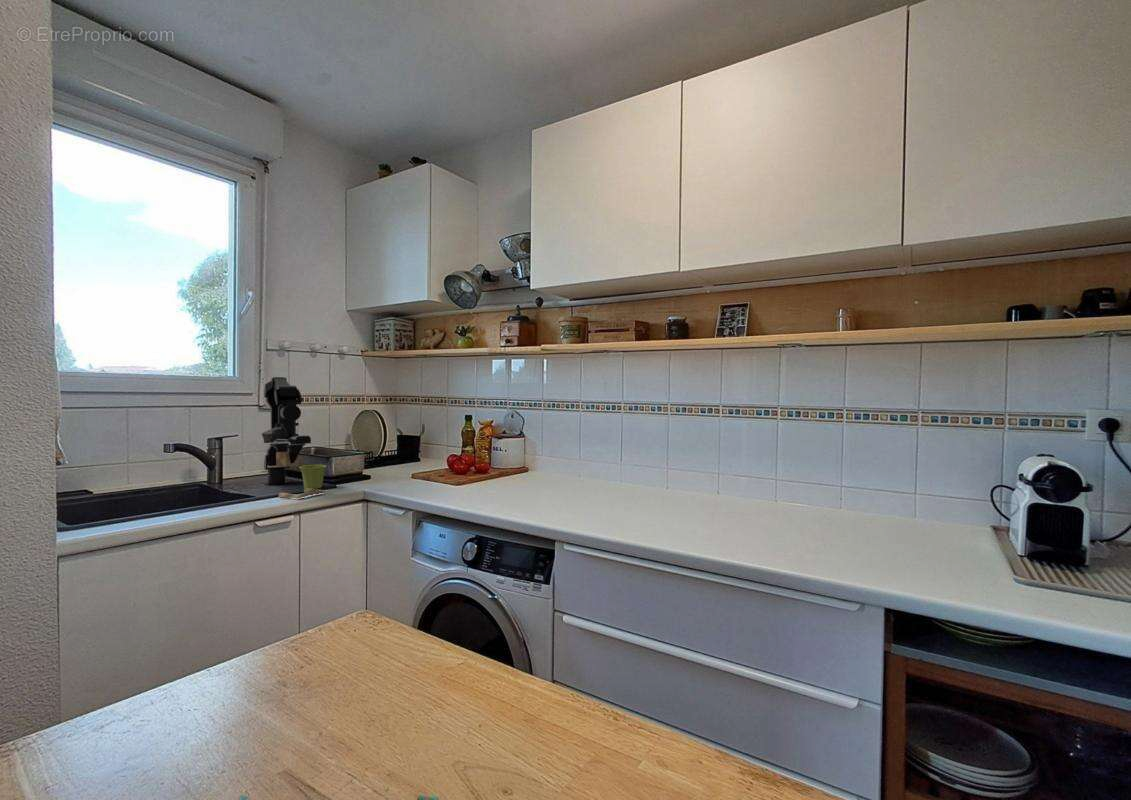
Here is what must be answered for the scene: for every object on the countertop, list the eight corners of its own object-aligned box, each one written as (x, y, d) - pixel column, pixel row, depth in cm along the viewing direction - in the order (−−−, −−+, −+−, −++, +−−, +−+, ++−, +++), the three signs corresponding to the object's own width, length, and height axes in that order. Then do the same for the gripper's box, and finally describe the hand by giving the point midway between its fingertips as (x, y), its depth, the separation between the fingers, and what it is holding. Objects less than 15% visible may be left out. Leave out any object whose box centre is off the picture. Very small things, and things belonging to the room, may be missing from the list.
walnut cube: (276, 466, 186) (276, 452, 186) (289, 464, 190) (289, 451, 190) (285, 467, 184) (285, 453, 184) (298, 465, 188) (297, 451, 188)
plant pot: (300, 487, 201) (300, 465, 200) (326, 485, 204) (326, 463, 204) (298, 491, 192) (298, 468, 192) (326, 489, 196) (326, 467, 196)
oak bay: (278, 497, 181) (278, 493, 181) (306, 491, 191) (306, 487, 191) (297, 500, 177) (297, 495, 177) (324, 494, 187) (324, 490, 187)
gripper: (249, 420, 184) (249, 464, 184) (283, 421, 176) (283, 467, 176) (278, 419, 194) (278, 460, 194) (311, 420, 186) (312, 463, 186)
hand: (287, 462), depth 187 cm, fingers closed on walnut cube, 5 cm apart
